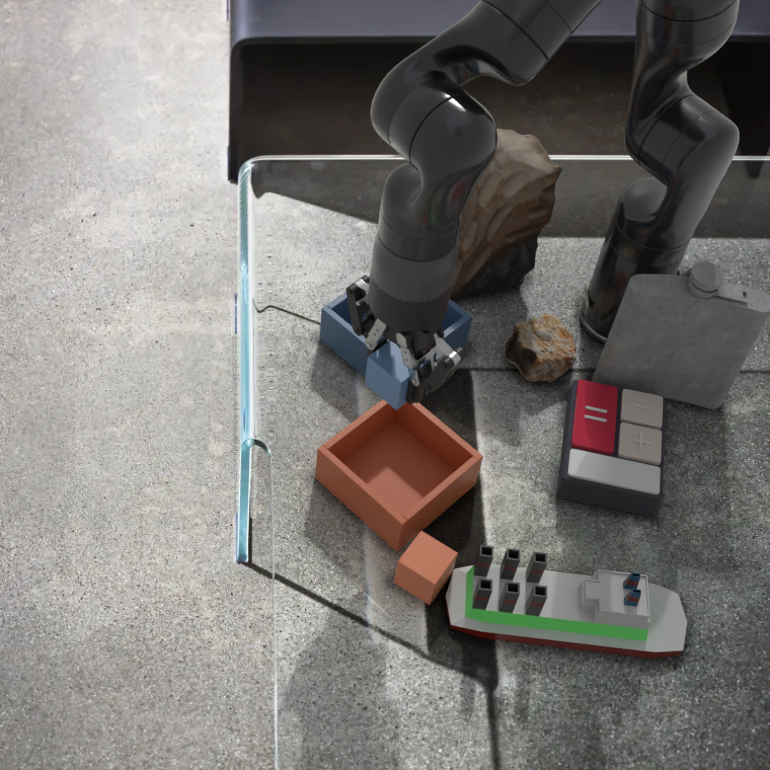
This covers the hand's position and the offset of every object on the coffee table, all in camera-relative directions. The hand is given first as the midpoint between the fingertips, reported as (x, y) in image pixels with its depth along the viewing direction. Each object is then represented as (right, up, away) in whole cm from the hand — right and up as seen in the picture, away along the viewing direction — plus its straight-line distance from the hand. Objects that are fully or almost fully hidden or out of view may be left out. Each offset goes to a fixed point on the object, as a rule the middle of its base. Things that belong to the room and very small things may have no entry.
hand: (395, 382), depth 117 cm
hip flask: (+32, -1, +22) cm, 39 cm away
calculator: (+25, -8, +16) cm, 30 cm away
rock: (+17, +3, +24) cm, 30 cm away
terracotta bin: (0, -11, +10) cm, 15 cm away
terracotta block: (+3, -20, +3) cm, 21 cm away
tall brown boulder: (+10, +14, +31) cm, 36 cm away
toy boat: (+17, -24, +3) cm, 30 cm away
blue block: (0, 0, 0) cm, 0 cm away
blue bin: (0, +5, +23) cm, 23 cm away
